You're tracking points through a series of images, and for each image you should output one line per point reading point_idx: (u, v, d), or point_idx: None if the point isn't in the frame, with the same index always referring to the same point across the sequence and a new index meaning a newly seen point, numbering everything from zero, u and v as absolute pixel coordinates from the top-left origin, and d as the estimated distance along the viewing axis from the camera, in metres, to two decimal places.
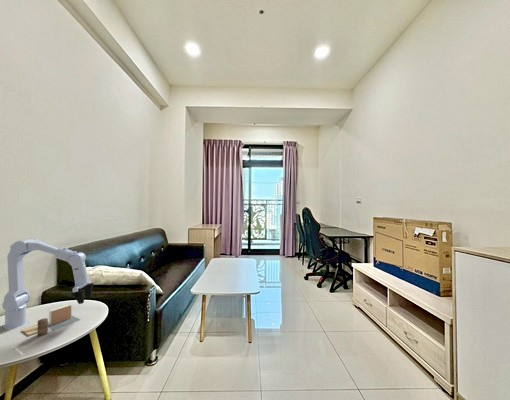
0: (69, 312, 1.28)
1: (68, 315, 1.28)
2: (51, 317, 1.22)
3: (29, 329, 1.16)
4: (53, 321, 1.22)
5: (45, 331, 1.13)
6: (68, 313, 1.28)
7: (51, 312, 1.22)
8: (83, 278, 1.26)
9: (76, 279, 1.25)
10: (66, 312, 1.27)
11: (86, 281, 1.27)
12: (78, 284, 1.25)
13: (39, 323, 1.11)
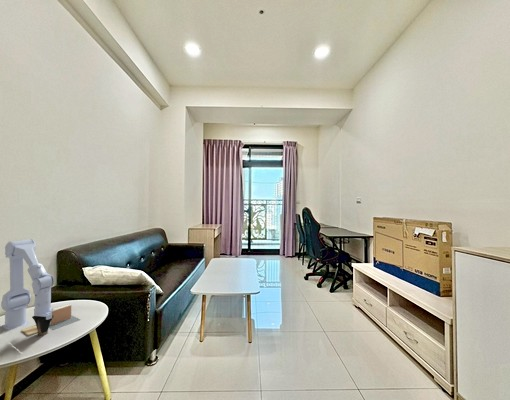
0: (69, 312, 1.28)
1: (68, 315, 1.28)
2: None
3: (29, 329, 1.16)
4: (53, 321, 1.22)
5: None
6: (68, 313, 1.28)
7: (51, 312, 1.22)
8: (50, 304, 1.14)
9: (43, 306, 1.11)
10: (66, 312, 1.27)
11: (50, 307, 1.15)
12: (44, 311, 1.12)
13: None
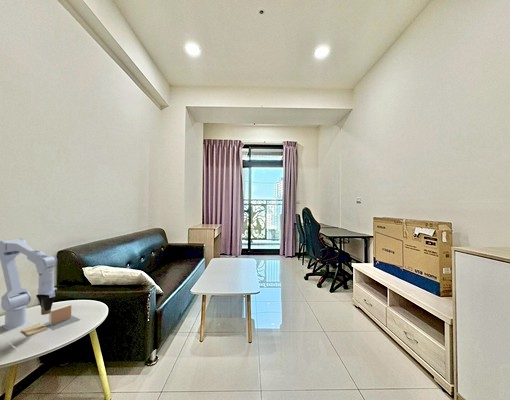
0: (69, 312, 1.28)
1: (68, 315, 1.28)
2: (51, 317, 1.22)
3: (29, 329, 1.16)
4: (53, 321, 1.22)
5: None
6: (68, 313, 1.28)
7: (51, 312, 1.22)
8: (53, 283, 1.18)
9: (46, 285, 1.16)
10: (66, 312, 1.27)
11: (53, 287, 1.19)
12: (48, 290, 1.16)
13: None
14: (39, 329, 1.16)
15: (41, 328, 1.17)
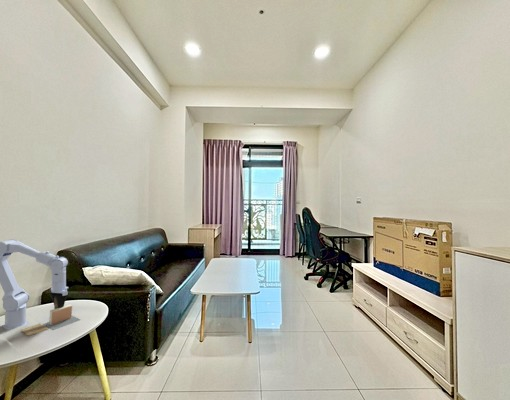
0: (69, 312, 1.28)
1: (68, 315, 1.28)
2: (52, 317, 1.21)
3: (29, 329, 1.16)
4: (53, 321, 1.22)
5: None
6: (68, 313, 1.28)
7: (52, 313, 1.21)
8: (65, 283, 1.28)
9: (59, 284, 1.25)
10: (67, 312, 1.27)
11: (65, 286, 1.29)
12: (60, 289, 1.25)
13: None
14: (39, 329, 1.16)
15: (41, 328, 1.17)
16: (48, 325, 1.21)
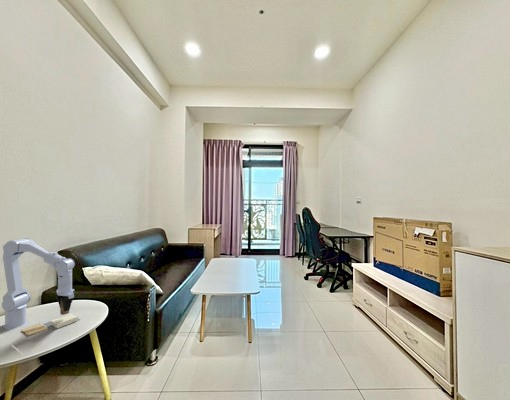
0: None
1: None
2: (55, 326, 1.20)
3: (29, 329, 1.16)
4: None
5: None
6: None
7: (57, 327, 1.18)
8: (71, 285, 1.24)
9: (65, 286, 1.22)
10: None
11: (71, 288, 1.25)
12: (67, 291, 1.22)
13: None
14: (39, 329, 1.16)
15: (41, 328, 1.17)
16: (48, 325, 1.21)
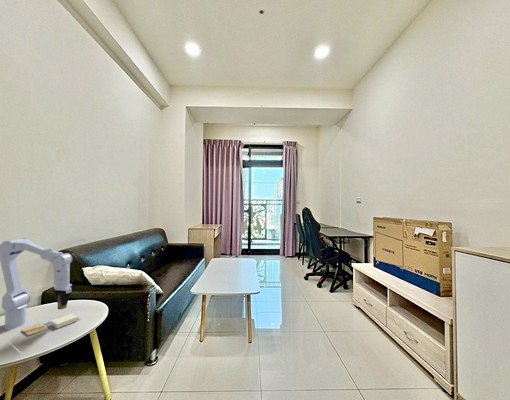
0: None
1: None
2: (55, 326, 1.20)
3: (29, 329, 1.16)
4: None
5: None
6: None
7: (57, 327, 1.18)
8: (68, 280, 1.24)
9: (63, 281, 1.21)
10: None
11: (69, 283, 1.25)
12: (64, 286, 1.21)
13: None
14: (39, 329, 1.16)
15: (41, 328, 1.17)
16: (48, 325, 1.21)
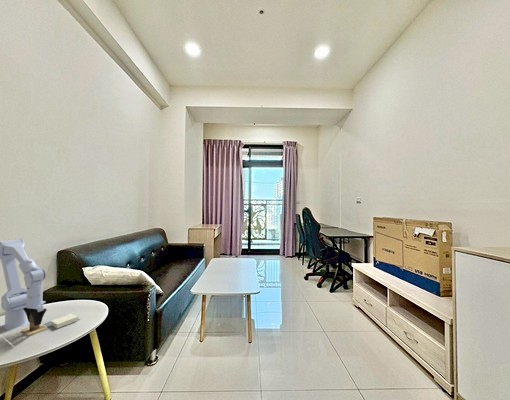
0: None
1: None
2: (55, 326, 1.20)
3: (29, 329, 1.16)
4: None
5: (37, 325, 1.16)
6: None
7: (57, 327, 1.18)
8: (41, 297, 1.18)
9: (34, 298, 1.15)
10: None
11: (42, 300, 1.19)
12: (36, 304, 1.15)
13: (31, 317, 1.15)
14: (39, 329, 1.16)
15: (41, 328, 1.17)
16: (48, 325, 1.21)
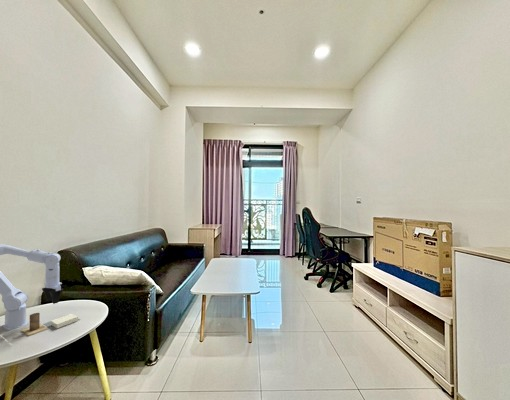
0: None
1: None
2: (55, 326, 1.20)
3: (29, 329, 1.16)
4: None
5: (37, 325, 1.16)
6: None
7: (57, 327, 1.18)
8: (58, 278, 1.30)
9: (53, 279, 1.27)
10: None
11: None
12: (54, 284, 1.27)
13: (31, 317, 1.15)
14: (39, 329, 1.16)
15: (41, 328, 1.17)
16: (48, 325, 1.21)
